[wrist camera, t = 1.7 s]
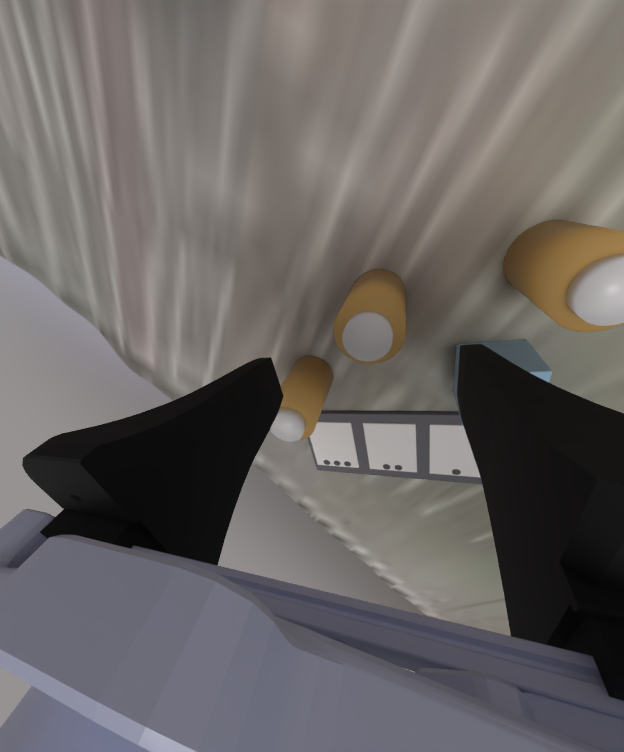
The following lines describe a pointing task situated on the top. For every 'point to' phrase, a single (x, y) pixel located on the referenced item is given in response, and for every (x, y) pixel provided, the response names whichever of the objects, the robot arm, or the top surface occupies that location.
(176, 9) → the top surface
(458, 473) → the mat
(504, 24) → the top surface
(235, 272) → the top surface
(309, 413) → the bottle
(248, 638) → the robot arm
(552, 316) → the bottle
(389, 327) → the bottle
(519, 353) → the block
